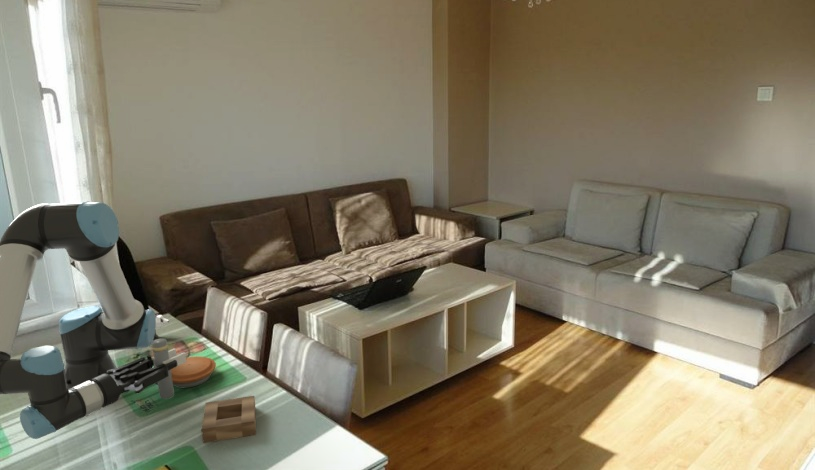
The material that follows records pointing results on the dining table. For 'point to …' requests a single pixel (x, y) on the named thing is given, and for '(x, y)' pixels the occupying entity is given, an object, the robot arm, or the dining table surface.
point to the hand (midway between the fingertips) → (180, 355)
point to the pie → (192, 372)
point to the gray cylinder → (159, 356)
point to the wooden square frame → (229, 419)
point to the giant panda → (160, 323)
